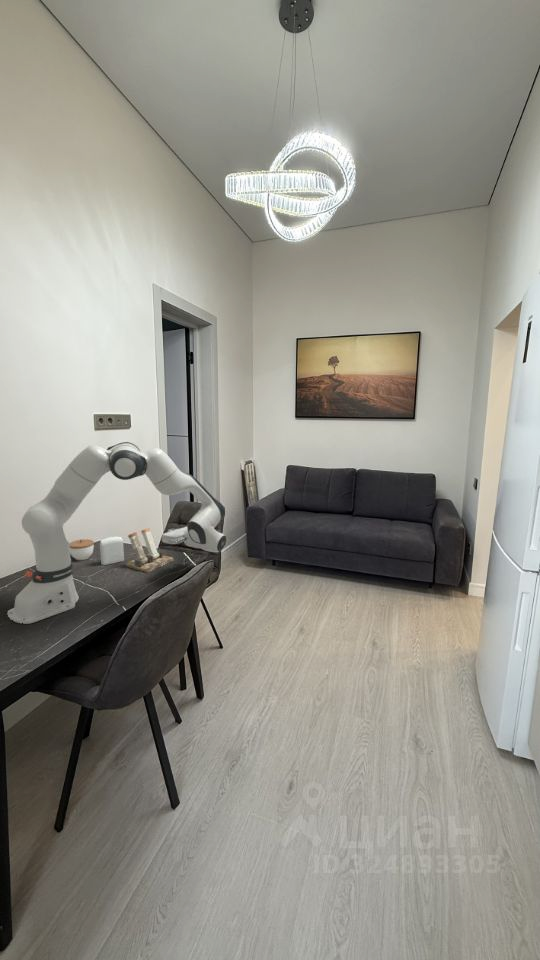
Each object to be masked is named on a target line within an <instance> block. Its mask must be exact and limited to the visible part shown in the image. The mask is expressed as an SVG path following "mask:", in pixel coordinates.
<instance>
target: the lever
mask: <svg viewBox="0 0 540 960" xmlns="http://www.w3.org/2000/svg"><path fill="white" fill-rule="evenodd" d="M140 532H141V534H142V536H143V540H144V543H145V546H146V548H147V551H148V554H150V555H152V556H153V559H156V558H158V557H159V556H160V555H159V553H158V552H157V551H158V549H157V547H156V543H155V541H154V539H153V535H152V533H151V528H150V527H149V528H145V529H142V530H140Z"/></svg>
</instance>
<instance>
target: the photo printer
mask: <svg viewBox="0 0 540 960" xmlns="http://www.w3.org/2000/svg"><path fill="white" fill-rule="evenodd" d="M124 551H125V550H124V540H123V538H122V537H121V536H110V537H106V538H103V539H101V540H100V541H99V552H100V564H101V566H106V565H112V564H116V563H120V562H121V563H122V562H124V561H125V552H124Z"/></svg>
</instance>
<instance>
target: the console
mask: <svg viewBox="0 0 540 960" xmlns="http://www.w3.org/2000/svg"><path fill="white" fill-rule="evenodd" d="M127 537H128V539H129V541H130V544H131V546H132V549H133V551H134V554H135V556H136V558H135V559H133V560H132V559H131V560H129V561H127V562H125V567H127V568H129V569H130V568H131V569H133V568H134V569H133V570H137V571H140V570H141V571H140V572H143V571H144V573H150V572H152V570H153V571H155V570H156V568H157V569H159V568H161V567H163V565H164V566H166V565H168V564H170V563H172V562H174V557H171V556H167V555H164V553H163V551H160V550H157V552H158V553H159V555H160V556H159V557H158V558H156V559H153V556H152V555H150V554H149V553H147V554H145V551H144V549H143V547H142V543H141V541H140V538H139V536H138V532H132V533H130V534H127ZM171 561H172V562H171ZM169 562H170V563H169ZM167 563H168V564H167ZM165 564H166V565H165ZM160 566H161V567H160ZM158 567H159V568H158ZM154 569H155V570H154Z"/></svg>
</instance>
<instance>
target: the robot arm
mask: <svg viewBox="0 0 540 960" xmlns="http://www.w3.org/2000/svg"><path fill="white" fill-rule="evenodd" d="M106 473H111V474H112V475H113V476H114V477H115V478H117V479H119V480H122V481H127V480H131V479H132V480H133V479H135V478H138V477H142V476H144V475H145V476H146V477H147V478H148V480H149V481H150V482H151V484H152V485H153V486H154V488H155V489H156V490H157V491H158V492H159V493H161V494H162V495H164V496H174V495H179V494H181V493H183V492H186V491H188V492H190V493H191V494H192V495H193V496H194V497H195V498H196V500H197V501H199V502H200V503H201V507H200V509H199V510H198V511H197V512H195V514H194V515H193V516H192V517H191V519H190V520H189V521H188V522H187V524H186V526H184V527H181V528H170V529H167V532H164V533H162V534H161V542H162V543H164V544H169V545H178V544H181V543H183V542H184V545H185V546H187V547H191V548H194V549H201V550H203V551H206V552H211V553H219V552H221V551H222V550H223V549H224V548H225V546H226V543H227V535H225V534H223V533H222V532H219V531H217V530H216V529H215V528H216V526H218V524H219V523H220V522H221V521H222V520H223V519H224V518H225V515H226V509H225V507H224V505H223V504H222V502H220V501H219V500H218V499H217V498H215V497H214V496H213V495H212V494H211V493H210V492H209V491H208V489H206V488H205V486H204V485H203V484H201V482H200V481H198V480H197V478H195V476H193V475H192V474H190V473H187V472H186V473H185V472H183V471H181V470H180V469H179V467H178V466H177V465H176V463H175V462H174V461H173V460H172V458H170V456H169V455H168V454H167V453H166V452H165V451H164V450H162V449H161V448H159V447H154V448H150V449H148V450H146V451H144V452H143V451H141V450H140V448H139V446H137V445H135V444H134V443H132V442H130V441H125V442H120V443H116V444H114V445H111V446H109V447H107V449H106V448H104V447H102V446H100V445H97V444H96V445H95V444H91V445H88V446H86V448H84V449H83V450H82V451H81V452H79V453H78V454H77V455H76V456H75V458H73V460H71V462H70V463H69V464H68V466H66V468H65V469H64V470H63V471H62V473H61V474H60V475H58V477H57V479H56V480H55V482H54V484H53V486H52V487H51V489H50V490H49V492H48V493H47V495H46V496H44V498H43V499H42V500H40V501H39V502H37V503H36V504H33V505H31V506H30V507H29V508H28V509H27V511H26V512H25V513H24V515H23V516H22V518H21V527H22V530H24V532H25V533H26V534H28V535H29V538H30V541H31V543H32V545H33V550H34V559H35V566H36V568H35V569H34V571H33V572H32V571H30V570H27V571H26V572H25V573H24V576H25V577H27V578H29V579H30V578H31V581H30V582H29V583H28V584H27V585H26V586H25V587H24V588H23V589H22V590H20V591H19V593H18V594H16V596H15V599H14V607H13V608H11V609H9V610H7V615H8V616H7V618H8V617H9V618H10V619H9V618H8V619H9V620H11V621H12V620H13V622H15V623H18V624H22V623H23V625H25V624H26V625H28V624H32V623H37V622H38V621H41V620H44V619H46V618H49V617H52V616H55V615H58V614H61V613H63V612H67V611H69V610H72V609H74V608H76V603H77V602H78V600H80V597H79V593H78V592H77V590H76V587H75V581H74V577H73V576H74V567H73V562H72V558H71V557H72V555H71V553H70V542H69V541H68V540H67V537H66V534H65V531H64V524H65V523H66V522H68V521H69V519H70V518H71V517H72V516H73V514H74V513H75V512H76V510H77V509H78V508H79V507H80V505H81V504H82V502H83V501H84V499H85V498H86V497H87V496H88V495H89V493H90V492H91V491H92V489H94V488H95V486H96V485H97V484H98V482H99V481H100V480H101V479H102V477H103V476H104V475H105V474H106Z"/></svg>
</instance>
